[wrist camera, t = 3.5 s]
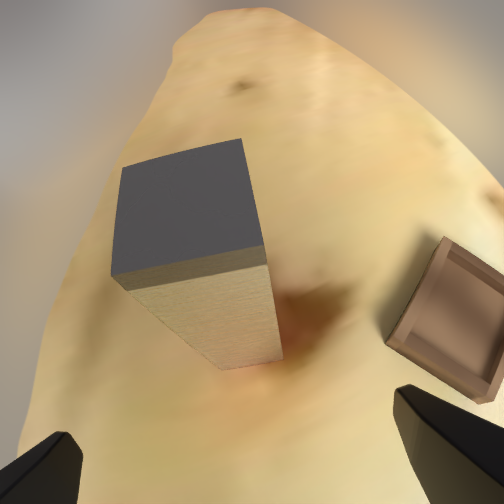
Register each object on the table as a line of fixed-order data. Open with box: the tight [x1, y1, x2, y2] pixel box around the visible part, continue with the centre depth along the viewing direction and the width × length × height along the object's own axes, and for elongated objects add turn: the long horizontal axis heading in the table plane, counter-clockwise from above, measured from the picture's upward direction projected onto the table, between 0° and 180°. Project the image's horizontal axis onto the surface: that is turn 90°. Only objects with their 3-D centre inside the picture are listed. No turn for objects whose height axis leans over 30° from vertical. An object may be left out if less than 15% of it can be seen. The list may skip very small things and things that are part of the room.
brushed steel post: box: [111, 138, 284, 370], centre depth 15 cm, size 4×4×14 cm
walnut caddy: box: [385, 236, 504, 404], centre depth 18 cm, size 9×9×2 cm
